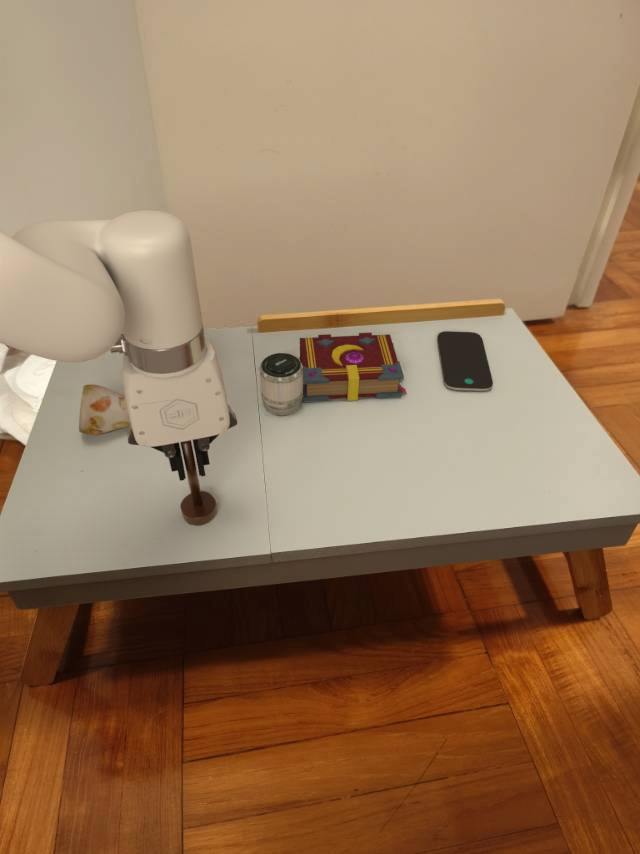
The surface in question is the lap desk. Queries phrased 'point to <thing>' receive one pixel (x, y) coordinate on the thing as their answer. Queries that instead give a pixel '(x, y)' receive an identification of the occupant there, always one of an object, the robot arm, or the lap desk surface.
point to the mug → (102, 410)
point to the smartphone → (464, 361)
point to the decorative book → (350, 367)
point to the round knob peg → (195, 493)
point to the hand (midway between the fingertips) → (191, 469)
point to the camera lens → (281, 383)
